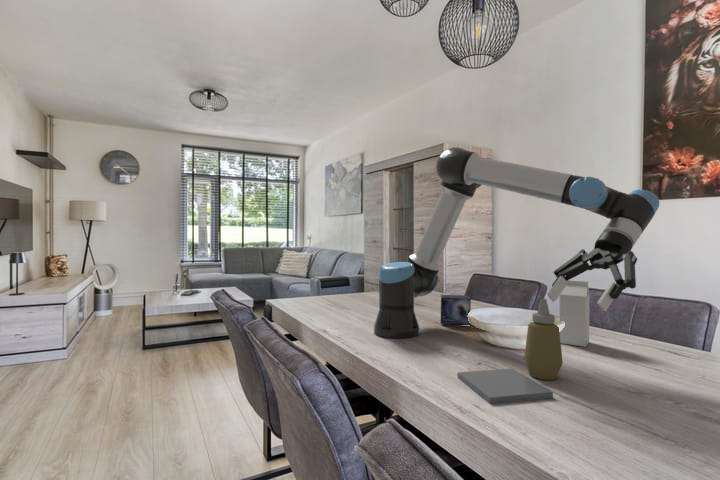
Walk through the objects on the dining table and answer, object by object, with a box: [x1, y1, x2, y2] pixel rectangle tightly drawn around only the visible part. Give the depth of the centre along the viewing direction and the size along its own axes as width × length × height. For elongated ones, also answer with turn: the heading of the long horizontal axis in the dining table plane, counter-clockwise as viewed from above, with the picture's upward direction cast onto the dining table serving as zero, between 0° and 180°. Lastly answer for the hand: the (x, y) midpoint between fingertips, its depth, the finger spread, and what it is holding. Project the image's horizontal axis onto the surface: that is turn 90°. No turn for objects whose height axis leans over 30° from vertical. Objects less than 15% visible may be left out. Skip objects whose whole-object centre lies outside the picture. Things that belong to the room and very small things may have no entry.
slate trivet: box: [457, 368, 554, 404], centre depth 83 cm, size 14×14×1 cm
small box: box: [439, 294, 472, 326], centre depth 142 cm, size 11×6×10 cm, turn 80°
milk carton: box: [558, 280, 590, 348], centre depth 118 cm, size 7×7×19 cm
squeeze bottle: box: [524, 298, 564, 381], centre depth 90 cm, size 8×8×18 cm
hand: (574, 302), depth 93 cm, fingers open, 13 cm apart
